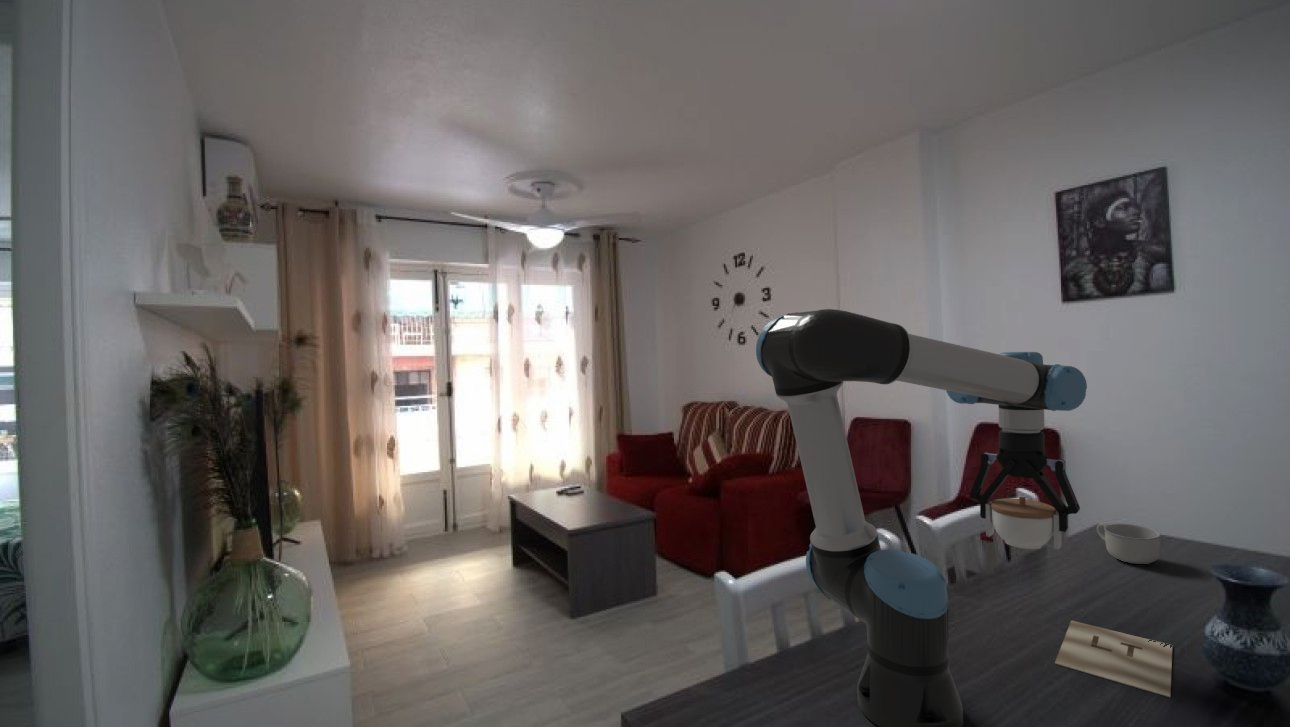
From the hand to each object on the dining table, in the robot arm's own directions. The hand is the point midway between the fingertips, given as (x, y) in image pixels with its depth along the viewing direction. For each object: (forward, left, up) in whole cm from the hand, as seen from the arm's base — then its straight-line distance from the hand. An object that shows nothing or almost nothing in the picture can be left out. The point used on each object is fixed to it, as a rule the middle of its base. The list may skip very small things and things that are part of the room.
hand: (1022, 540), depth 112 cm
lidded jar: (0, 0, -1) cm, 1 cm away
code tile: (-1, -14, -18) cm, 22 cm away
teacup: (+56, -12, -18) cm, 60 cm away
